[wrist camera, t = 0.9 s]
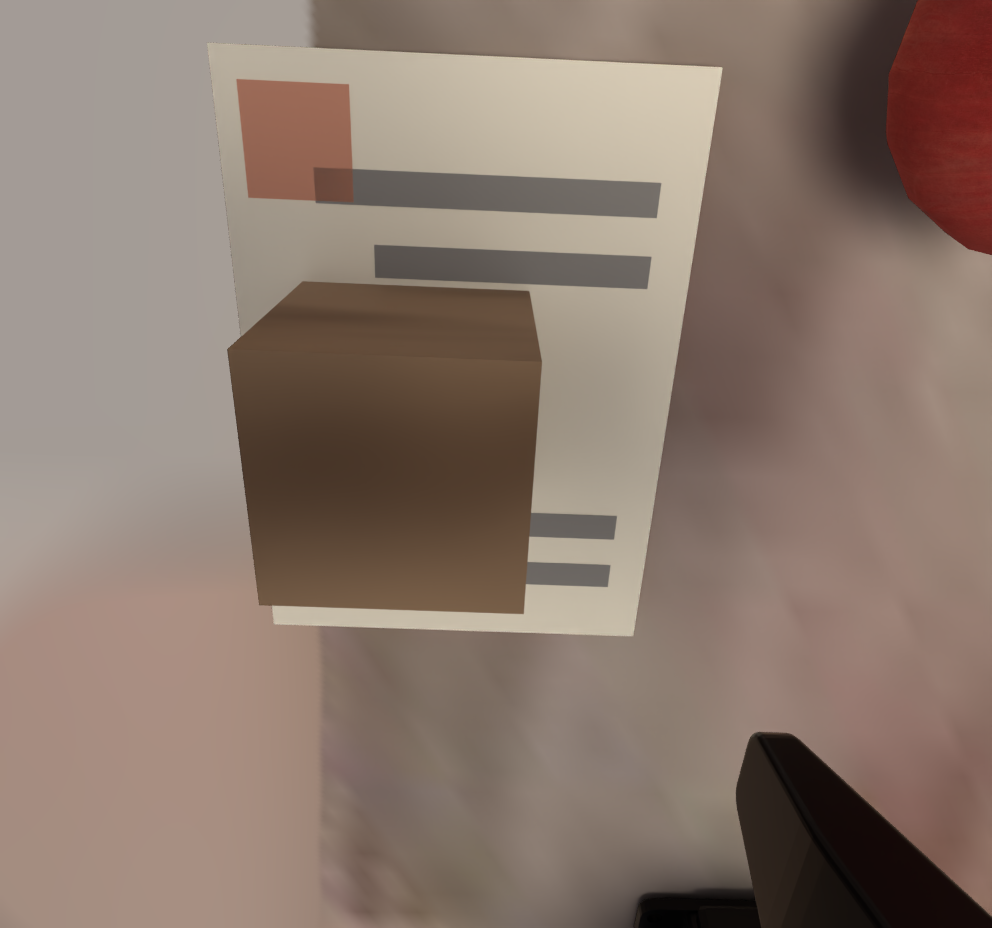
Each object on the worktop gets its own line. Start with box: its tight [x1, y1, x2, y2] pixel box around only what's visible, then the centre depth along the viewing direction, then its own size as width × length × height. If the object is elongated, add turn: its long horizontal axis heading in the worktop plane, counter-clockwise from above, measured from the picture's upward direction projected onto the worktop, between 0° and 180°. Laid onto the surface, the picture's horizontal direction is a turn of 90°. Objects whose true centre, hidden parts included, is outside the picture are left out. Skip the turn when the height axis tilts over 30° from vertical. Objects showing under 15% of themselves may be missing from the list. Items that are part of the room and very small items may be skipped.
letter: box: [207, 43, 723, 636], centre depth 17 cm, size 14×10×1 cm
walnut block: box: [227, 281, 542, 614], centre depth 15 cm, size 5×5×5 cm
